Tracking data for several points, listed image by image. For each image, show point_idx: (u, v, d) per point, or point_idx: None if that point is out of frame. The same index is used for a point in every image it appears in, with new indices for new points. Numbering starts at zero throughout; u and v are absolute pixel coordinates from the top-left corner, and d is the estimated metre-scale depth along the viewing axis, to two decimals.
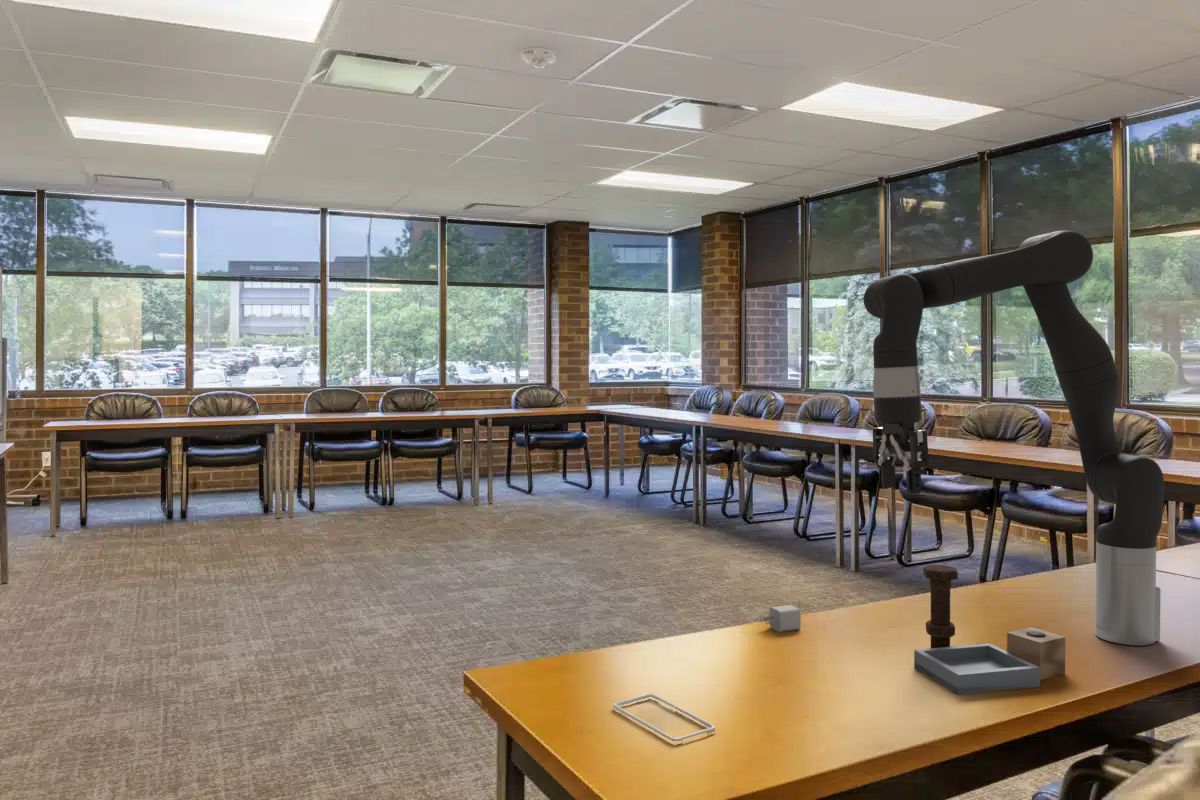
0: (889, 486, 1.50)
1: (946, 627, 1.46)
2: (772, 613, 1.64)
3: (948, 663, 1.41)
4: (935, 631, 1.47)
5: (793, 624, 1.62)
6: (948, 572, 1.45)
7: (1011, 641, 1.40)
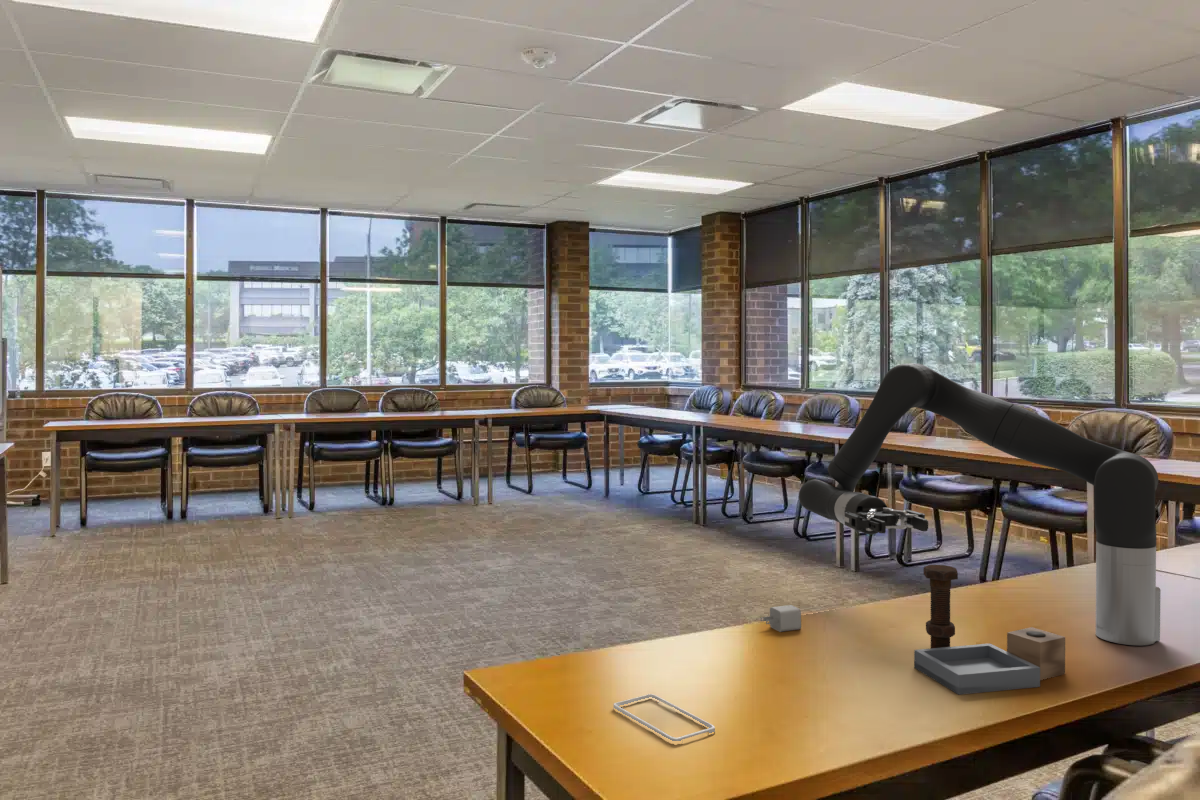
0: (923, 525, 1.59)
1: (946, 627, 1.46)
2: (772, 613, 1.64)
3: (948, 663, 1.41)
4: (935, 631, 1.47)
5: (794, 624, 1.63)
6: (948, 572, 1.45)
7: (1011, 641, 1.40)
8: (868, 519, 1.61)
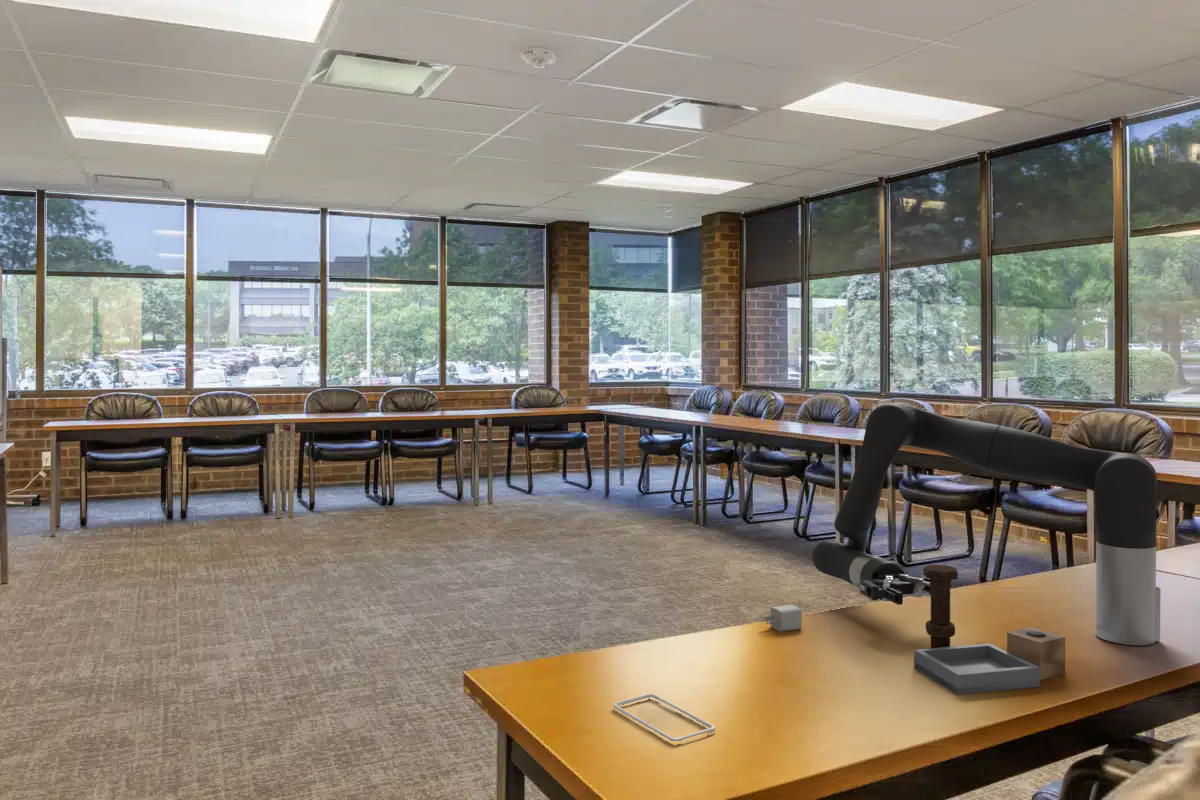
0: None
1: (946, 627, 1.46)
2: (773, 613, 1.64)
3: (948, 663, 1.41)
4: (935, 631, 1.47)
5: (794, 624, 1.63)
6: (948, 572, 1.45)
7: (1011, 641, 1.40)
8: (884, 589, 1.56)
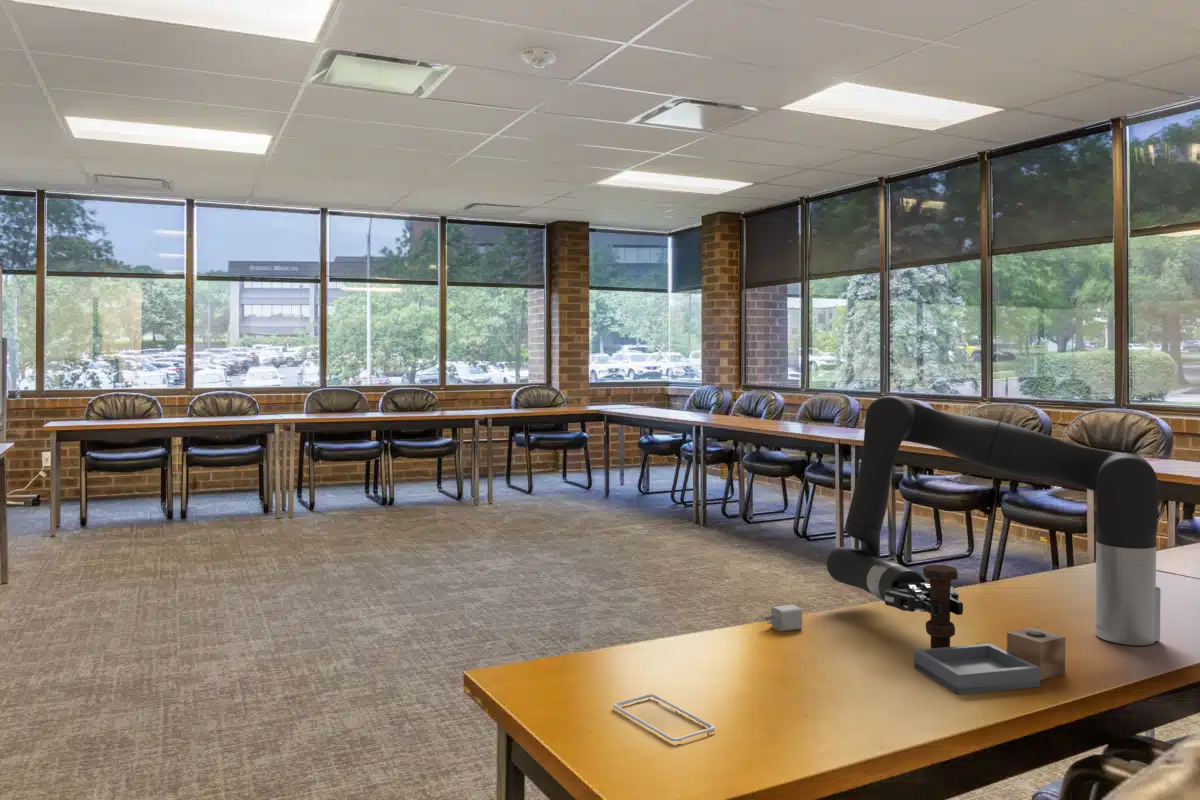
0: (958, 609, 1.46)
1: (946, 627, 1.46)
2: (774, 613, 1.64)
3: (948, 663, 1.41)
4: (935, 631, 1.47)
5: (795, 623, 1.63)
6: (948, 572, 1.45)
7: (1011, 641, 1.40)
8: (923, 599, 1.48)
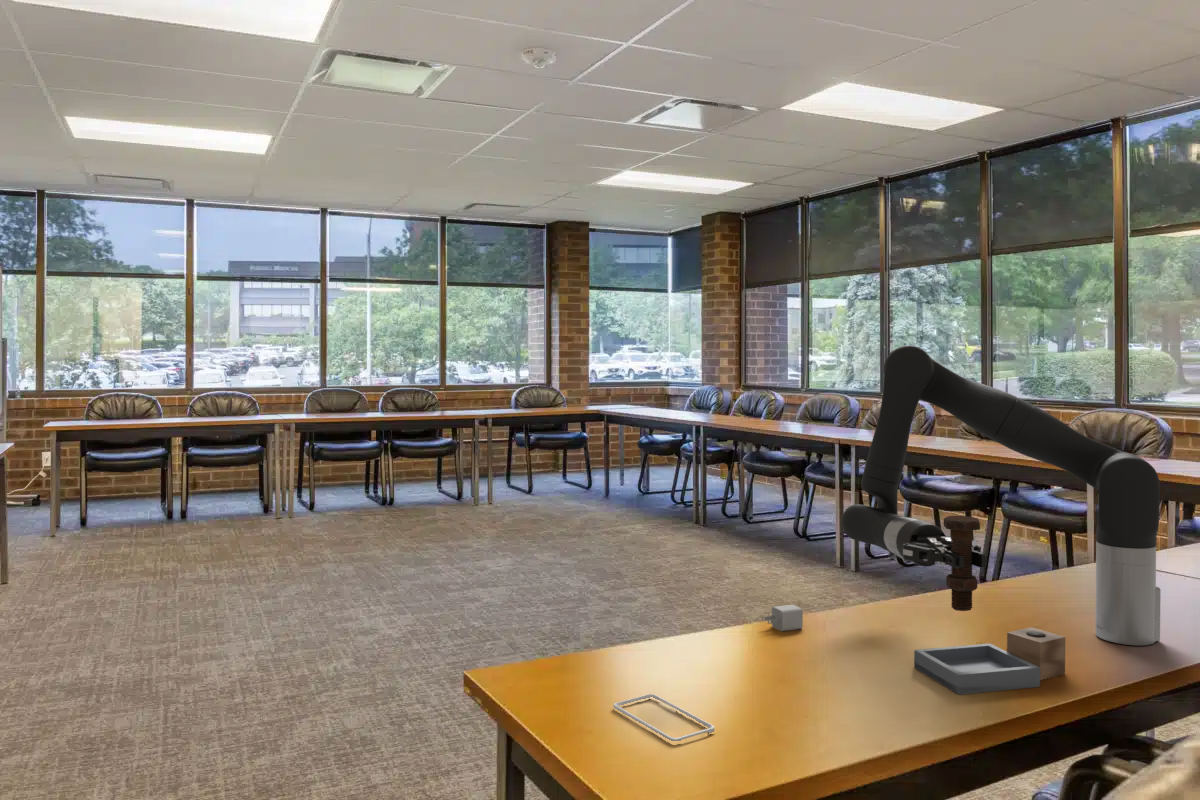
0: (980, 561, 1.38)
1: (968, 580, 1.39)
2: (774, 612, 1.65)
3: (948, 663, 1.41)
4: (956, 584, 1.39)
5: (795, 623, 1.63)
6: (970, 522, 1.38)
7: (1011, 641, 1.40)
8: (944, 552, 1.41)
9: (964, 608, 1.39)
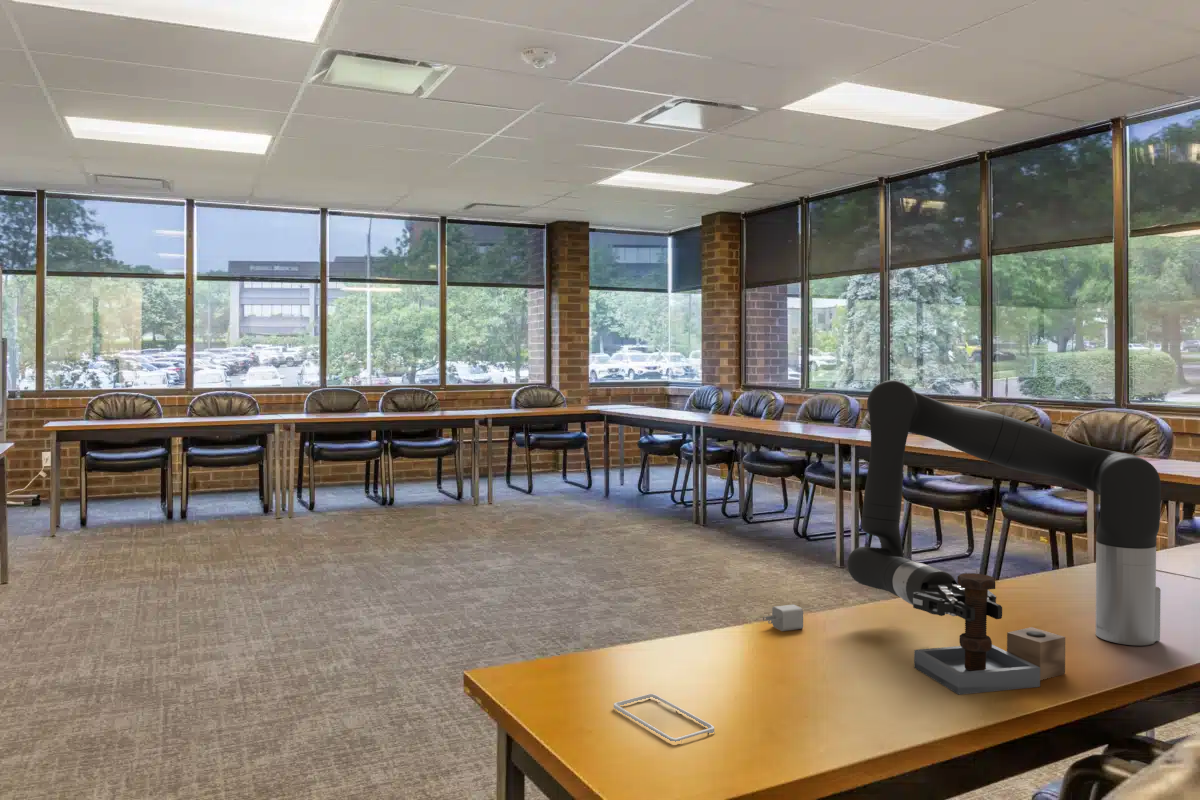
0: (997, 612, 1.35)
1: (982, 641, 1.35)
2: (775, 612, 1.65)
3: (948, 663, 1.41)
4: (970, 645, 1.36)
5: (796, 623, 1.63)
6: (985, 581, 1.35)
7: (1011, 641, 1.40)
8: (954, 603, 1.37)
9: (978, 669, 1.36)
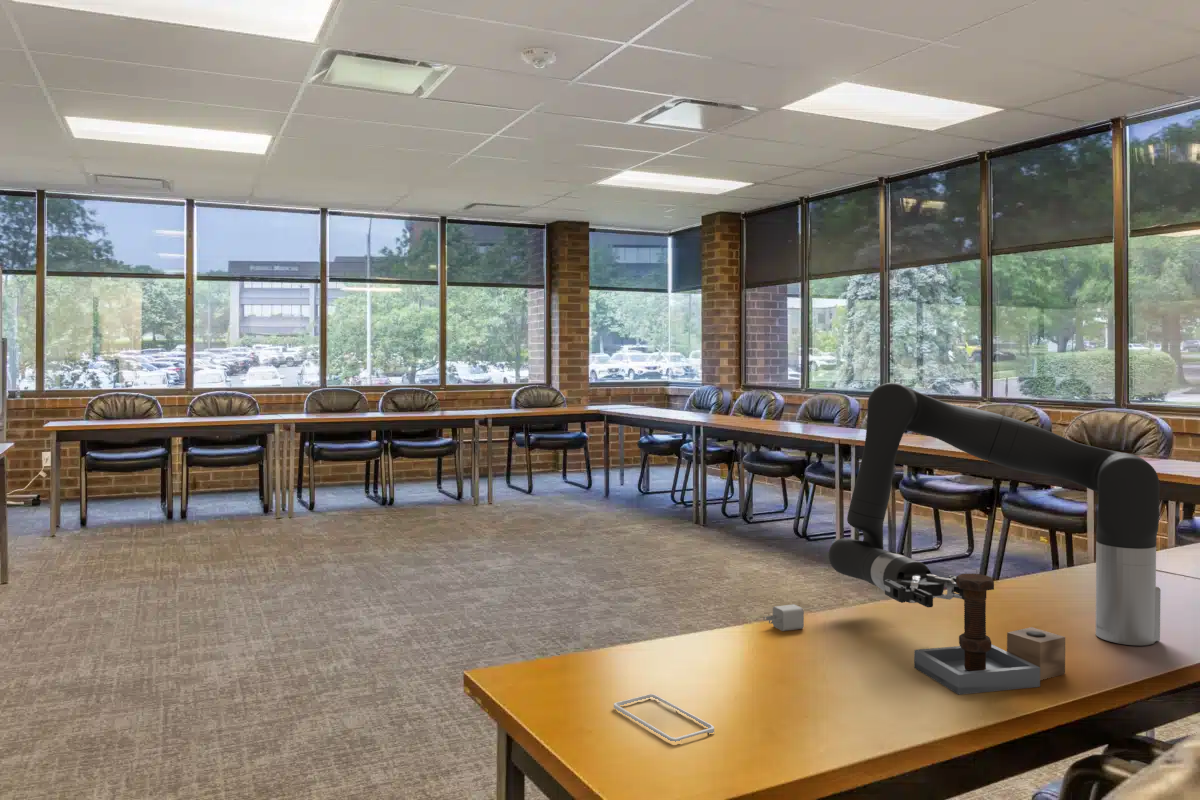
0: None
1: (982, 641, 1.35)
2: (775, 612, 1.65)
3: (948, 663, 1.41)
4: (970, 646, 1.36)
5: (796, 623, 1.63)
6: (984, 582, 1.34)
7: (1011, 641, 1.40)
8: (912, 590, 1.45)
9: (978, 670, 1.36)
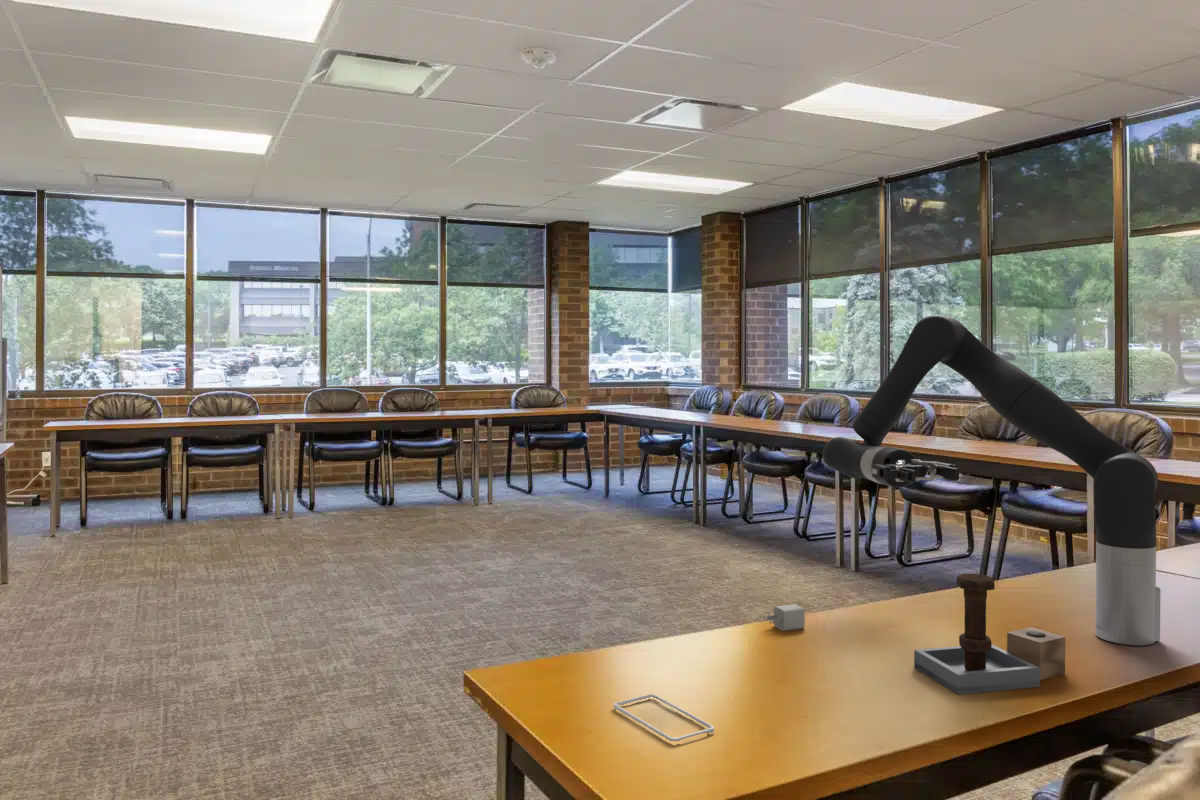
0: (954, 475, 1.55)
1: (982, 641, 1.35)
2: (776, 612, 1.65)
3: (948, 663, 1.41)
4: (970, 645, 1.36)
5: (797, 623, 1.63)
6: (984, 582, 1.34)
7: (1011, 641, 1.40)
8: (897, 469, 1.57)
9: (978, 670, 1.36)
